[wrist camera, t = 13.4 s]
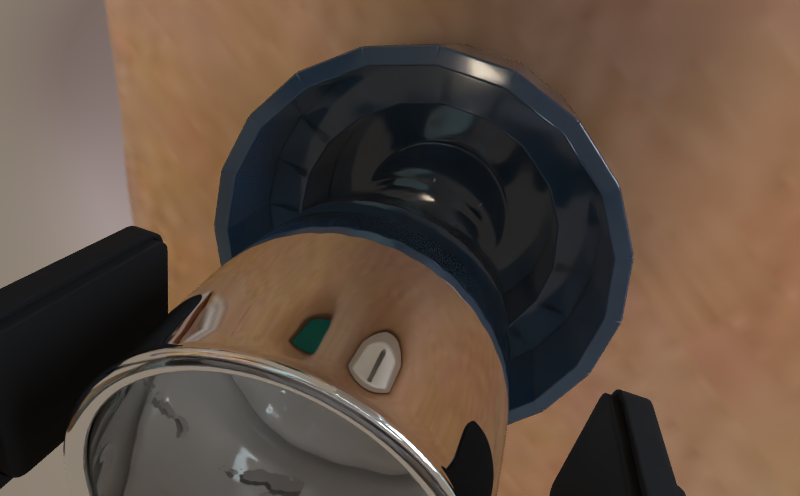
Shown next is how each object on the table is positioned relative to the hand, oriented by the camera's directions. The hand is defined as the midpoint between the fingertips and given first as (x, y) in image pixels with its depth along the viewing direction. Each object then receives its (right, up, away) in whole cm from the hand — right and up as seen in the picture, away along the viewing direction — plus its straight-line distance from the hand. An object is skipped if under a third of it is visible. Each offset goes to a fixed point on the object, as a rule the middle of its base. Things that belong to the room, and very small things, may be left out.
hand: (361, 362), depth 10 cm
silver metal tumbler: (+2, +4, +11) cm, 12 cm away
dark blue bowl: (+2, +4, +11) cm, 12 cm away
